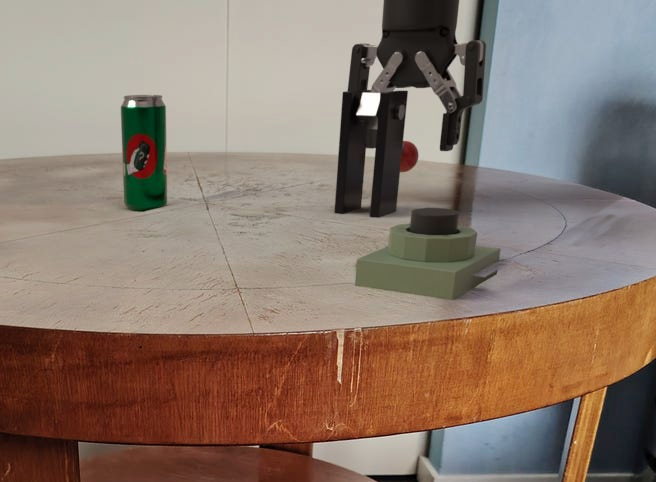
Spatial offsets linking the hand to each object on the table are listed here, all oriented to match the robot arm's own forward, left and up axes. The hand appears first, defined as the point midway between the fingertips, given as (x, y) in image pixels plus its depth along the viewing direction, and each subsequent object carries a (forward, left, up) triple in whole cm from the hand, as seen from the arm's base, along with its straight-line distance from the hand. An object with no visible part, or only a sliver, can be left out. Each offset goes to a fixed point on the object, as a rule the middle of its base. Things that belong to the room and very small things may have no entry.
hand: (408, 149), depth 98 cm
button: (-15, +29, -3) cm, 33 cm away
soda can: (+26, +13, -7) cm, 30 cm away
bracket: (0, +9, -7) cm, 11 cm away
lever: (0, +6, 0) cm, 6 cm away
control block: (-15, +29, -7) cm, 33 cm away
